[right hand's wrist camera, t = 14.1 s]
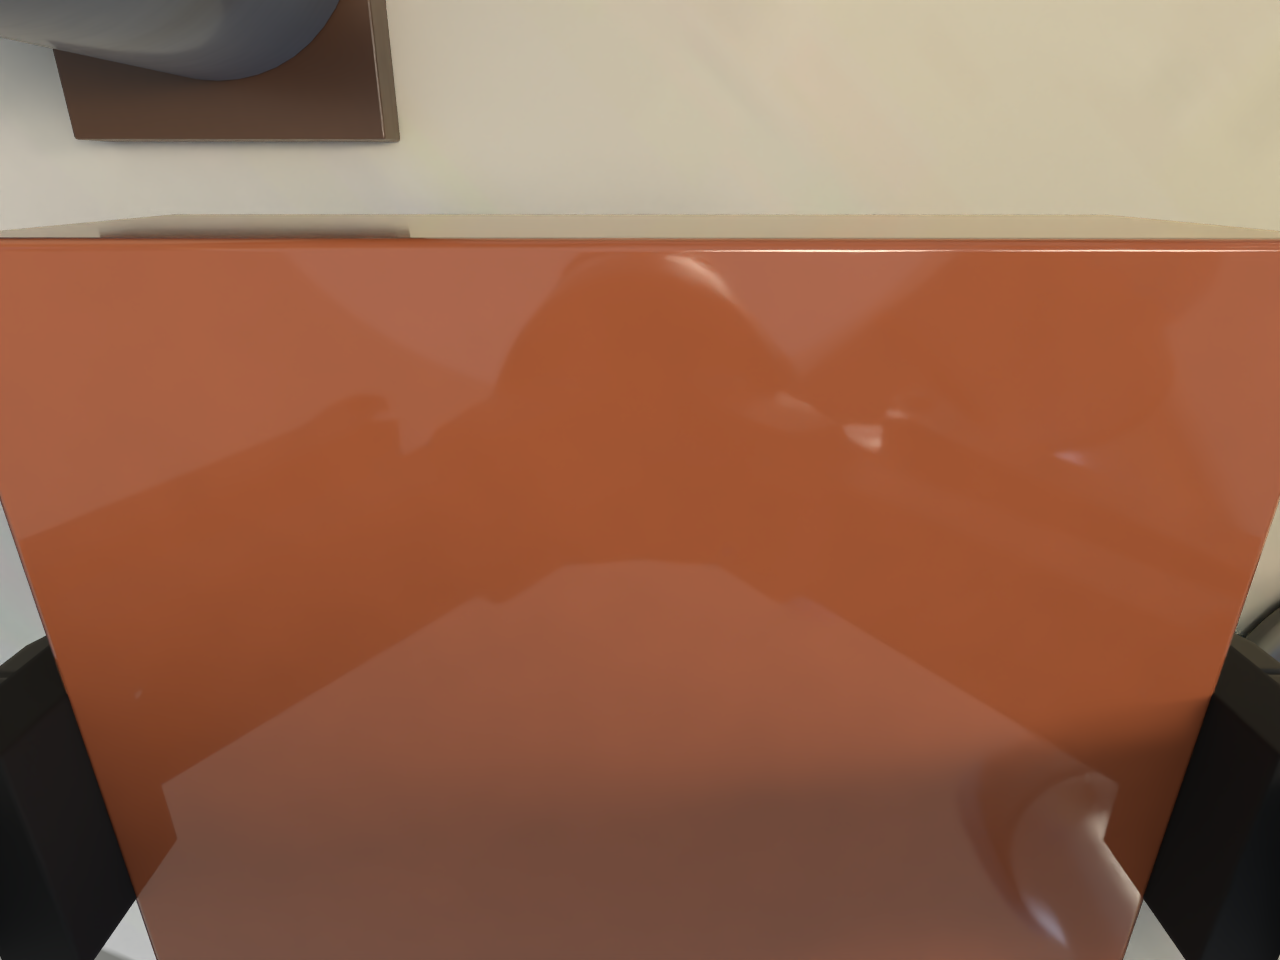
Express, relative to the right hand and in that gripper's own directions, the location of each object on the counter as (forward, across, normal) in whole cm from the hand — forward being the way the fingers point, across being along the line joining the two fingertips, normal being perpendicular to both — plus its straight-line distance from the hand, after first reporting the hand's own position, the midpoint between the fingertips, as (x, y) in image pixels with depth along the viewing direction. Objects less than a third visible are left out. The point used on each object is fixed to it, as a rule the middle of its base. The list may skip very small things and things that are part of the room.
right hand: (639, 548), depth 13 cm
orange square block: (-1, 0, 0) cm, 1 cm away
